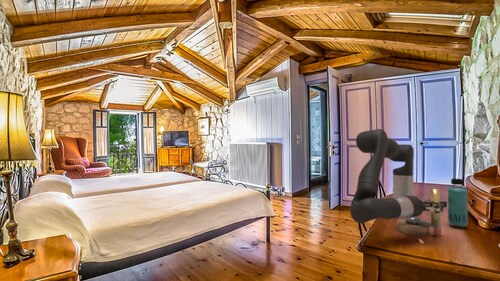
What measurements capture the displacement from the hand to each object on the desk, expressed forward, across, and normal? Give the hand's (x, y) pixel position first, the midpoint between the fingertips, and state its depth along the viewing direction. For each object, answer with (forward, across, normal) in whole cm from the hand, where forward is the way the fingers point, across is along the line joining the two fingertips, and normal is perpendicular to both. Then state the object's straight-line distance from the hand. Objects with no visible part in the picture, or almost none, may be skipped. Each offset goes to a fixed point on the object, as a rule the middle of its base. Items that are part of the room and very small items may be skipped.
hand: (441, 203), depth 96 cm
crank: (-4, +4, +9) cm, 11 cm away
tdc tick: (-11, -2, +13) cm, 17 cm away
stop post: (0, +1, +12) cm, 13 cm away
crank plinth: (-5, +8, +12) cm, 16 cm away
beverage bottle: (+15, +5, +12) cm, 20 cm away
